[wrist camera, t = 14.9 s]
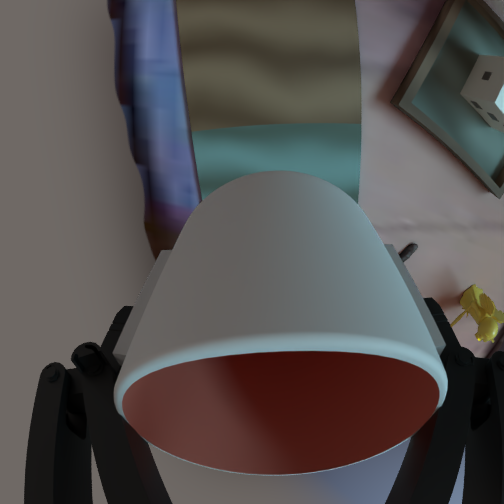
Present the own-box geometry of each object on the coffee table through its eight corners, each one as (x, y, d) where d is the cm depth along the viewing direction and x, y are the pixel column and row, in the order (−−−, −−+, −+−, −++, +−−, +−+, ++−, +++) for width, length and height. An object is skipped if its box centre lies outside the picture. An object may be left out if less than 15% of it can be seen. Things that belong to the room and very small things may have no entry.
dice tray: (454, -16, 14) (463, -19, 12) (543, 89, 17) (553, 92, 16) (390, 102, 23) (398, 105, 22) (490, 192, 27) (499, 199, 25)
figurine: (414, 322, 39) (432, 368, 32) (467, 265, 33) (497, 308, 26) (451, 339, 42) (468, 378, 34) (498, 292, 35) (522, 329, 28)
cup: (209, 134, 12) (96, 269, 4) (400, 204, 14) (508, 360, 5) (171, 295, 18) (122, 447, 9) (320, 333, 19) (337, 478, 11)
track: (171, -100, 10) (170, -102, 10) (329, -111, 9) (330, -112, 9) (212, 252, 34) (212, 254, 34) (352, 247, 33) (353, 249, 32)
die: (479, 54, 18) (514, 57, 13) (509, 90, 19) (544, 100, 14) (459, 93, 21) (494, 103, 16) (491, 127, 22) (524, 143, 17)
